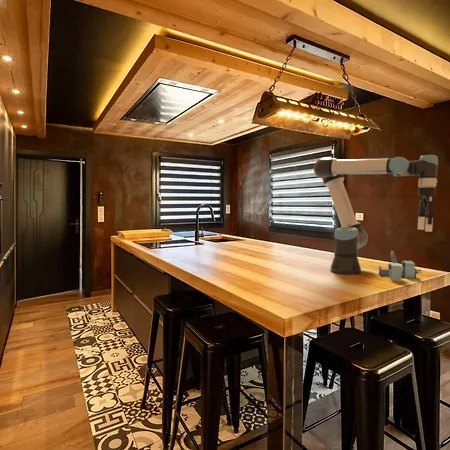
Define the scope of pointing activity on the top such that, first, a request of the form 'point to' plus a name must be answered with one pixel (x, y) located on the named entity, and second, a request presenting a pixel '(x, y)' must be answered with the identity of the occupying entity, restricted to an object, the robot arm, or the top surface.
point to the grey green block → (395, 271)
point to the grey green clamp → (407, 271)
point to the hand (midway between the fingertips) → (424, 230)
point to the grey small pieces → (396, 260)
